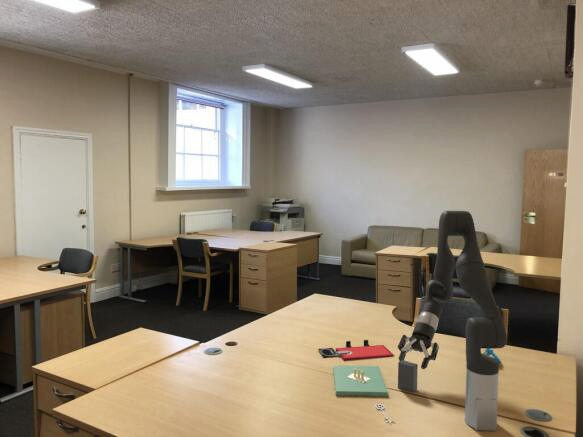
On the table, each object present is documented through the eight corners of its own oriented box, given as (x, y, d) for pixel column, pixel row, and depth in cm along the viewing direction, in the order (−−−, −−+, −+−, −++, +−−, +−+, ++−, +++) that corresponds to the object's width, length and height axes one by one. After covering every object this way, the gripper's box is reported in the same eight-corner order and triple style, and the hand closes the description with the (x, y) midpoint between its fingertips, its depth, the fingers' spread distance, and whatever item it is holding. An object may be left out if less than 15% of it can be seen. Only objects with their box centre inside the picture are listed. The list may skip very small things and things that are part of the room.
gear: (503, 362, 182) (485, 343, 184) (492, 371, 183) (473, 352, 185) (499, 356, 193) (481, 337, 195) (488, 364, 194) (471, 346, 196)
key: (382, 405, 152) (373, 406, 152) (382, 402, 152) (373, 403, 151) (396, 424, 140) (385, 425, 140) (396, 421, 140) (385, 422, 140)
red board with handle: (316, 349, 202) (326, 363, 187) (316, 343, 202) (326, 356, 187) (379, 344, 208) (393, 358, 193) (380, 338, 208) (394, 351, 193)
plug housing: (401, 384, 166) (402, 359, 165) (417, 389, 162) (417, 364, 162) (397, 387, 164) (398, 362, 163) (413, 392, 160) (413, 366, 159)
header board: (387, 396, 158) (387, 383, 157) (335, 395, 159) (335, 382, 158) (378, 369, 180) (378, 358, 179) (333, 368, 180) (333, 358, 180)
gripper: (405, 317, 175) (390, 355, 167) (441, 325, 165) (427, 365, 158) (411, 327, 179) (397, 364, 172) (446, 335, 170) (433, 375, 162)
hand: (411, 365), depth 165 cm, fingers open, 8 cm apart
